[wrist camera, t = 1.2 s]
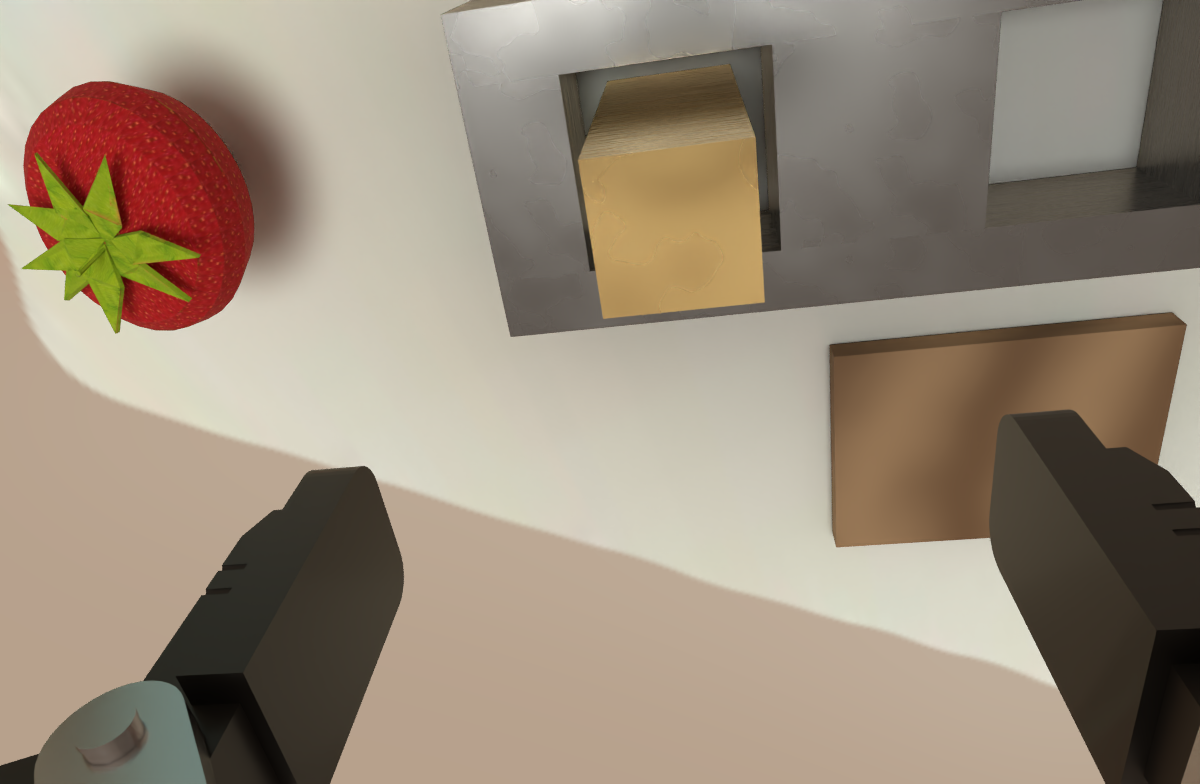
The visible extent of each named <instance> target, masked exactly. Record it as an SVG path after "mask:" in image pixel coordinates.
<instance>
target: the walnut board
mask: <svg viewBox="0 0 1200 784" xmlns="http://www.w3.org/2000/svg"><path fill="white" fill-rule="evenodd" d="M1186 326H1187V324H1186V323H1184V322H1183V321H1182V320H1181V319H1179V318H1178V317H1177V316H1176V315H1175V314H1173V313H1163V314H1152V315H1142V316H1131V317H1120V318H1110V319H1099V320H1089V321H1078V322H1067V323H1057V324H1046V325H1036V326H1025V327H1014V328H1004V329H993V330H983V331H972V332H961V333H951V334H940V335H930V336H919V337H908V338H898V339H887V340H877V341H866V342H855V343H845V344H834V345H830V403H831V465H832V528H833V536H834V540H835V544H836V547H849V546H865V545H881V544H897V543H913V542H929V541H945V540H961V539H977V538H990V530H989V514H990V503H991V493H992V482H993V472H994V462H995V451H996V441H997V432H998V426H999V423H1000V420H1001V418H1002V417H1003V416H1004V415H1007V414H1019V413H1032V412H1044V411H1056V410H1068V409H1071V410H1074V411H1075V412H1077V413H1078V414H1079V415H1080V417H1081V418H1082V419H1083V420H1084V422H1085V423H1086V424H1087V425H1088V427H1089V428H1090V429H1091V430H1092V432H1093V433H1094V434H1095V435H1096V436H1097V438H1098V439H1099V440H1100V441H1101V443H1102V444H1103V445H1104V446H1105V448H1118V447H1127V448H1129V449H1131V450H1133V451H1134V452H1136V453H1138V454H1140V455H1141V456H1143V457H1145V458H1146V459H1148V460H1150V461H1152V462H1153V463H1155V464H1157V465H1158V460H1159V455H1160V451H1161V446H1162V441H1163V436H1164V431H1165V427H1166V422H1167V417H1168V412H1169V407H1170V403H1171V398H1172V393H1173V388H1174V383H1175V379H1176V374H1177V369H1178V364H1179V359H1180V355H1181V350H1182V345H1183V340H1184V335H1185V331H1186Z"/></svg>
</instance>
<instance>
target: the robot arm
mask: <svg viewBox="0 0 1200 784" xmlns="http://www.w3.org/2000/svg"><path fill="white" fill-rule="evenodd" d="M989 530H990V539H991V545H992V550H993V554H994V557H995V561H996V563H997V566H998V568H999V571H1000V573H1001V575H1002V577H1003V579H1004V581H1005V583H1006V585H1007V587H1008V589H1009V591H1010V593H1011V595H1012V597H1013V599H1014V601H1015V603H1016V605H1017V607H1018V609H1019V611H1020V613H1021V615H1022V617H1023V619H1024V621H1025V623H1026V625H1027V627H1028V629H1029V631H1030V633H1031V635H1032V637H1033V639H1034V641H1035V643H1036V645H1037V647H1038V649H1039V651H1040V653H1041V655H1042V657H1043V659H1044V661H1045V663H1046V665H1047V667H1048V669H1049V671H1050V673H1051V675H1052V677H1053V679H1054V681H1055V683H1056V685H1057V687H1058V689H1059V691H1060V693H1061V695H1062V697H1063V699H1064V701H1065V703H1066V705H1067V707H1068V709H1069V711H1070V713H1071V715H1072V717H1073V719H1074V721H1075V723H1076V725H1077V727H1078V729H1079V731H1080V733H1081V735H1082V737H1083V739H1084V741H1085V743H1086V745H1087V747H1088V749H1089V751H1090V753H1091V755H1092V757H1093V759H1094V761H1095V763H1096V765H1097V767H1098V769H1099V771H1100V773H1101V775H1102V777H1103V779H1104V781H1105V784H1200V507H1199V508H1196V506H1195V501H1194V500H1193V499H1192V497H1191V496H1190V495H1189V494H1188V493H1187V492H1186V491H1185V489H1184V488H1183V487H1182V486H1181V485H1180V484H1179V483H1178V482H1177V480H1176V479H1175V478H1174V477H1173V476H1172V475H1171V474H1170V473H1169V471H1167V470H1165V469H1164V468H1162V467H1160V466H1159V465H1157V464H1155V463H1153V462H1152V461H1150V460H1148V459H1146V458H1145V457H1143V456H1141V455H1140V454H1138V453H1136V452H1134V451H1133V450H1131V449H1129V448H1127V447H1118V448H1105V446H1104V445H1103V444H1102V443H1101V441H1100V440H1099V439H1098V438H1097V436H1096V435H1095V434H1094V433H1093V432H1092V430H1091V429H1090V428H1089V427H1088V425H1087V424H1086V423H1085V422H1084V420H1083V419H1082V418H1081V417H1080V415H1079V414H1078V413H1077V412H1075V411H1074V410H1071V409H1068V410H1056V411H1044V412H1032V413H1019V414H1007V415H1004V416H1003V417H1002V418H1001V420H1000V423H999V426H998V432H997V441H996V451H995V462H994V472H993V482H992V493H991V503H990V514H989ZM403 584H404V571H403V562H402V558H401V554H400V551H399V547H398V545H397V541H396V538H395V535H394V532H393V529H392V526H391V523H390V520H389V517H388V514H387V511H386V508H385V505H384V502H383V499H382V496H381V493H380V490H379V487H378V484H377V481H376V478H375V476H374V474H373V473H372V471H371V470H370V469H369V468H368V467H365V466H359V467H346V468H334V469H323V470H312V471H309V472H308V473H306V475H305V476H304V477H303V479H302V480H301V482H300V483H299V485H298V486H297V488H296V489H295V491H294V492H293V494H292V496H291V497H290V499H289V500H288V502H287V503H286V505H285V507H284V508H283V509H282V510H274V511H272V512H271V513H269V514H268V515H267V516H266V517H265V518H263V519H262V520H261V521H260V522H259V523H257V524H256V525H255V526H254V527H253V528H251V529H250V530H249V531H248V532H246V533H245V534H244V535H243V536H242V537H241V538H240V540H239V541H238V543H237V544H236V545H235V547H234V548H233V550H232V551H231V553H230V554H229V556H228V557H227V559H226V560H225V562H224V563H223V565H222V571H218V572H217V573H216V575H215V576H214V578H213V579H212V581H211V582H210V584H209V585H208V587H207V588H206V595H201V597H200V598H199V600H198V601H197V603H196V604H195V606H194V607H193V609H192V610H191V612H190V613H189V614H188V616H187V617H186V619H185V621H184V622H183V623H182V625H181V626H180V628H179V629H178V631H177V632H176V634H175V635H174V637H173V638H172V639H171V641H170V642H169V644H168V645H167V647H166V648H165V650H164V651H163V653H162V654H161V656H160V657H159V659H158V660H157V661H156V663H155V664H154V666H153V667H152V669H151V670H150V672H149V673H148V675H147V676H146V678H145V679H144V681H140V682H136V683H131V684H127V685H124V686H121V687H118V688H116V689H113V690H111V691H109V692H106V693H104V694H102V695H100V696H99V697H97V698H95V699H93V700H92V701H90V702H88V703H87V704H85V705H84V706H83V707H81V708H79V709H78V710H77V711H76V712H74V713H73V714H72V715H70V716H69V717H68V718H67V719H66V720H65V721H64V722H63V723H62V724H61V725H60V726H59V727H58V728H57V729H56V730H55V731H54V733H52V735H51V736H50V737H49V739H48V740H47V741H46V743H45V744H44V746H43V748H42V750H41V751H40V753H39V754H37V755H34V756H30V757H27V758H24V759H20V760H17V761H14V762H11V763H8V764H4V765H1V766H0V784H330V782H331V779H332V777H333V774H334V772H335V769H336V767H337V764H338V761H339V759H340V756H341V753H342V751H343V749H344V746H345V743H346V741H347V738H348V736H349V733H350V730H351V728H352V725H353V723H354V720H355V718H356V715H357V712H358V710H359V707H360V705H361V702H362V700H363V697H364V694H365V692H366V689H367V687H368V684H369V681H370V679H371V676H372V674H373V671H374V668H375V666H376V664H377V660H378V658H379V656H380V653H381V651H382V648H383V645H384V643H385V640H386V638H387V635H388V633H389V630H390V627H391V625H392V622H393V620H394V617H395V614H396V612H397V609H398V607H399V604H400V601H401V598H402V592H403Z"/></svg>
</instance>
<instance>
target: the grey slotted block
mask: <svg viewBox="0 0 1200 784" xmlns="http://www.w3.org/2000/svg"><path fill="white" fill-rule="evenodd" d="M1073 1H1080V0H472V1H469V2H467V3H465V4H462V5H460V6H458V7H456V8H454V9H452V10H450V11H448V12H445V13H443V14H441V19H442V24H443V28H444V33H445V37H446V42H447V47H448V51H449V56H450V60H451V65H452V70H453V74H454V79H455V83H456V88H457V93H458V97H459V102H460V106H461V111H462V116H463V120H464V125H465V129H466V134H467V139H468V143H469V148H470V152H471V157H472V162H473V166H474V171H475V175H476V180H477V185H478V189H479V194H480V198H481V203H482V207H483V212H484V217H485V221H486V226H487V230H488V235H489V240H490V244H491V249H492V253H493V258H494V263H495V267H496V272H497V276H498V281H499V286H500V290H501V295H502V299H503V304H504V309H505V313H506V318H507V322H508V327H509V332H510V336H511V337H515V336H525V335H535V334H545V333H554V332H564V331H574V330H584V329H594V328H604V327H614V326H624V325H634V324H644V323H654V322H664V321H674V320H684V319H694V318H704V317H714V316H724V315H733V314H743V313H753V312H763V311H773V310H783V309H793V308H803V307H813V306H823V305H833V304H843V303H853V302H863V301H873V300H883V299H893V298H903V297H913V296H922V295H932V294H942V293H952V292H962V291H972V290H982V289H992V288H1002V287H1012V286H1022V285H1032V284H1042V283H1052V282H1062V281H1072V280H1082V279H1092V278H1101V277H1111V276H1121V275H1131V274H1141V273H1151V272H1161V271H1171V270H1181V269H1191V268H1200V0H1164V2H1163V8H1162V14H1161V21H1160V27H1159V33H1158V39H1157V46H1156V52H1155V58H1154V64H1153V70H1152V77H1151V83H1150V89H1149V95H1148V101H1147V108H1146V114H1145V120H1144V126H1143V132H1142V139H1141V145H1140V151H1139V157H1138V163H1137V167H1136V168H1128V169H1119V170H1111V171H1102V172H1093V173H1085V174H1076V175H1068V176H1059V177H1050V178H1042V179H1033V180H1025V181H1016V182H1007V183H999V184H990V185H988V182H989V169H990V156H991V143H992V130H993V117H994V104H995V91H996V78H997V65H998V52H999V39H1000V26H1001V13H1002V12H1003V11H1010V10H1017V9H1024V8H1031V7H1038V6H1045V5H1052V4H1059V3H1066V2H1073ZM757 46H761V66H762V86H763V106H764V125H765V145H766V165H767V185H768V205H769V210H767V211H760V225H761V243H762V261H763V279H764V297H765V302H764V303H754V304H744V305H734V306H725V307H715V308H705V309H695V310H685V311H676V312H666V313H656V314H646V315H636V316H626V317H617V318H607V319H603V315H602V309H601V302H600V296H599V290H598V283H597V277H596V271H595V264H594V258H593V252H592V245H591V239H590V233H589V226H588V220H587V213H586V207H585V201H584V194H583V188H582V182H581V175H580V169H579V163H578V159H579V156H580V154H581V151H582V148H583V145H584V143H585V140H586V138H585V131H584V125H583V118H582V111H581V105H580V98H579V91H578V85H577V78H576V72H582V71H589V70H596V69H603V68H610V67H617V66H624V65H631V64H638V63H645V62H652V61H659V60H666V59H673V58H680V57H687V56H694V55H701V54H708V53H715V52H722V51H729V50H736V49H743V48H750V47H757Z"/></svg>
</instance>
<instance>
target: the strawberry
mask: <svg viewBox="0 0 1200 784" xmlns="http://www.w3.org/2000/svg"><path fill="white" fill-rule="evenodd" d="M23 166H24V176H25V186H26V191H27V195H28V200H29V204H30V206H20V205H10V204H8V205H9V206H10V207H12V208H13V209H15V210H16V211H17V212H19V213H20V214H21V215H23V216H24V217H26V218H27V219H28V220H30V221H31V222H33V223H34V224H35V225H36V226H37V229H38V231H39V234H40V236H41V238H42V240H43V242H44V244H45V246H46V247H47V249H48V250H47V251H46V252H44V253H43V254H42V255H40V256H39V257H37V258H36V259H34V260H33V261H32V262H30V263H29V264H27V265H26V266H24V267H23V268H22V269H36V270H62V271H63V273H64V274H65V275H66V281H65V296H64V300H70V299H72V298H73V297H74V296H75V295H76V294H77V293H79V292H80V291H82V292H83V293H84V294H85V295H86V296H88V297H89V298H90V299H91V300H93V301H94V302H95V303H97V304H98V305H100V306H101V307H102V309H103V311H104V313H105V315H106V317H107V318H108V320H109V322H110V324H111V326H112V328H113V330H114V332H115V334H116V333H118V332H120V324H121V319H123V320H125V321H127V322H130V323H132V324H134V325H137V326H140V327H144V328H148V329H153V330H177V329H181V328H185V327H189V326H191V325H194V324H196V323H199V322H201V321H204V320H206V319H208V318H210V317H212V316H214V315H215V314H217V313H219V312H220V311H222V310H223V309H224V307H225V306H226V305H227V304H228V303H229V302H230V301H231V300H232V299H233V297H234V295H235V293H236V291H237V289H238V287H239V285H240V283H241V280H242V277H243V274H244V272H245V269H246V266H247V264H248V261H249V258H250V255H251V250H252V246H253V242H254V218H253V210H252V203H251V200H250V196H249V193H248V189H247V186H246V183H245V181H244V178H243V176H242V174H241V172H240V169H239V167H238V165H237V163H236V161H235V160H234V158H233V156H232V155H231V153H230V151H229V150H228V148H227V146H226V145H225V144H224V143H223V141H222V140H221V139H220V137H219V136H218V135H217V134H216V132H215V131H214V130H213V129H212V128H211V127H210V126H209V125H208V124H207V123H206V122H205V121H204V120H203V119H202V118H201V117H200V116H199V115H198V114H197V113H195V112H194V111H193V110H191V109H190V108H188V107H187V106H186V105H184V104H183V103H181V102H180V101H178V100H176V99H174V98H172V97H170V96H167V95H165V94H163V93H160V92H156V91H152V90H148V89H144V88H139V87H134V86H129V85H125V84H120V83H115V82H110V81H102V82H88V83H85V84H82V85H79V86H75V87H73V88H71V89H70V90H69V91H67V92H66V93H65V94H63V95H62V96H61V97H60V98H58V99H57V100H56V101H55V102H54V103H52V104H51V105H50V106H49V107H48V108H46V109H45V110H44V111H43V112H42V113H41V114H40V115H39V117H38V118H37V120H36V121H35V123H34V124H33V125H32V127H31V129H30V132H29V135H28V138H27V142H26V145H25V154H24V165H23Z"/></svg>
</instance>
